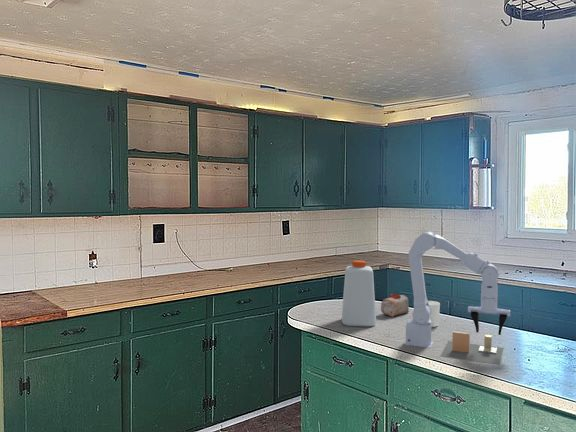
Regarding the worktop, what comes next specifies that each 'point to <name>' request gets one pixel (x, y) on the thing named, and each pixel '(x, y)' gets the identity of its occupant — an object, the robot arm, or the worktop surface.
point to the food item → (395, 305)
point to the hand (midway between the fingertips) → (488, 333)
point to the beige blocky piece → (488, 345)
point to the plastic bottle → (359, 295)
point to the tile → (461, 342)
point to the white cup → (434, 313)
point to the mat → (473, 354)
